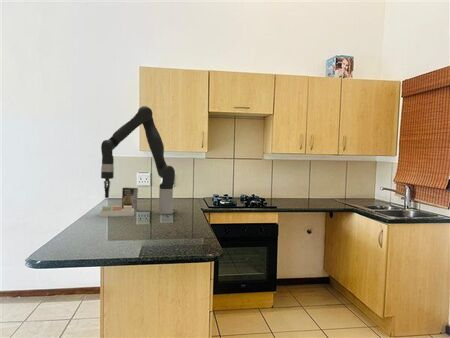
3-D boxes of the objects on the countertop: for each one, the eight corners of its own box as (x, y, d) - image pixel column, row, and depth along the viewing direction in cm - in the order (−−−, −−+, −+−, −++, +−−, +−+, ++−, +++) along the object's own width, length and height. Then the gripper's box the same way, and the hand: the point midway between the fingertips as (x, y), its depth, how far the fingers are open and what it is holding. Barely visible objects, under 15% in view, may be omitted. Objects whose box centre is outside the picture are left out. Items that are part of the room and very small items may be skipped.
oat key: (131, 210, 212) (131, 205, 212) (131, 211, 208) (131, 206, 207) (123, 210, 211) (123, 205, 211) (123, 211, 206) (123, 207, 206)
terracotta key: (121, 210, 210) (121, 205, 210) (121, 211, 205) (121, 207, 205) (113, 210, 209) (113, 205, 209) (112, 211, 204) (113, 207, 204)
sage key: (110, 210, 208) (111, 205, 208) (110, 211, 203) (110, 207, 203) (102, 210, 207) (102, 206, 206) (102, 212, 202) (102, 207, 202)
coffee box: (121, 210, 225) (121, 187, 225) (126, 209, 232) (126, 187, 231) (132, 211, 223) (133, 188, 223) (137, 209, 229) (138, 187, 229)
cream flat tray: (133, 213, 214) (133, 208, 214) (134, 215, 207) (134, 210, 207) (100, 214, 208) (100, 209, 207) (99, 216, 200) (99, 211, 200)
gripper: (113, 171, 199) (112, 199, 199) (113, 170, 211) (112, 196, 212) (100, 171, 196) (100, 199, 197) (101, 170, 209) (101, 196, 209)
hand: (106, 197), depth 204 cm, fingers closed
